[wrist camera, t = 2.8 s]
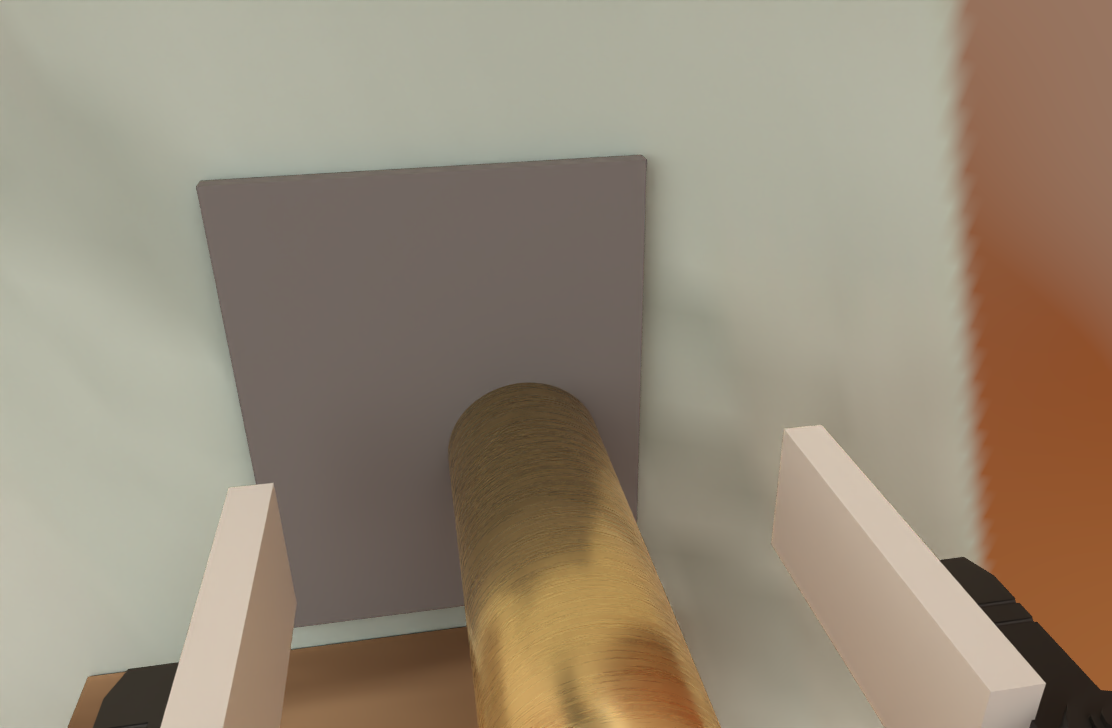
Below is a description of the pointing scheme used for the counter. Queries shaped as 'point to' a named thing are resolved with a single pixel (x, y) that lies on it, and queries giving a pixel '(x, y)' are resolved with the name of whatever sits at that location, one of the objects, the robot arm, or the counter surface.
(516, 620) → the peg
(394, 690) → the hole block
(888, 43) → the counter surface
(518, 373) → the mat
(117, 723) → the robot arm
